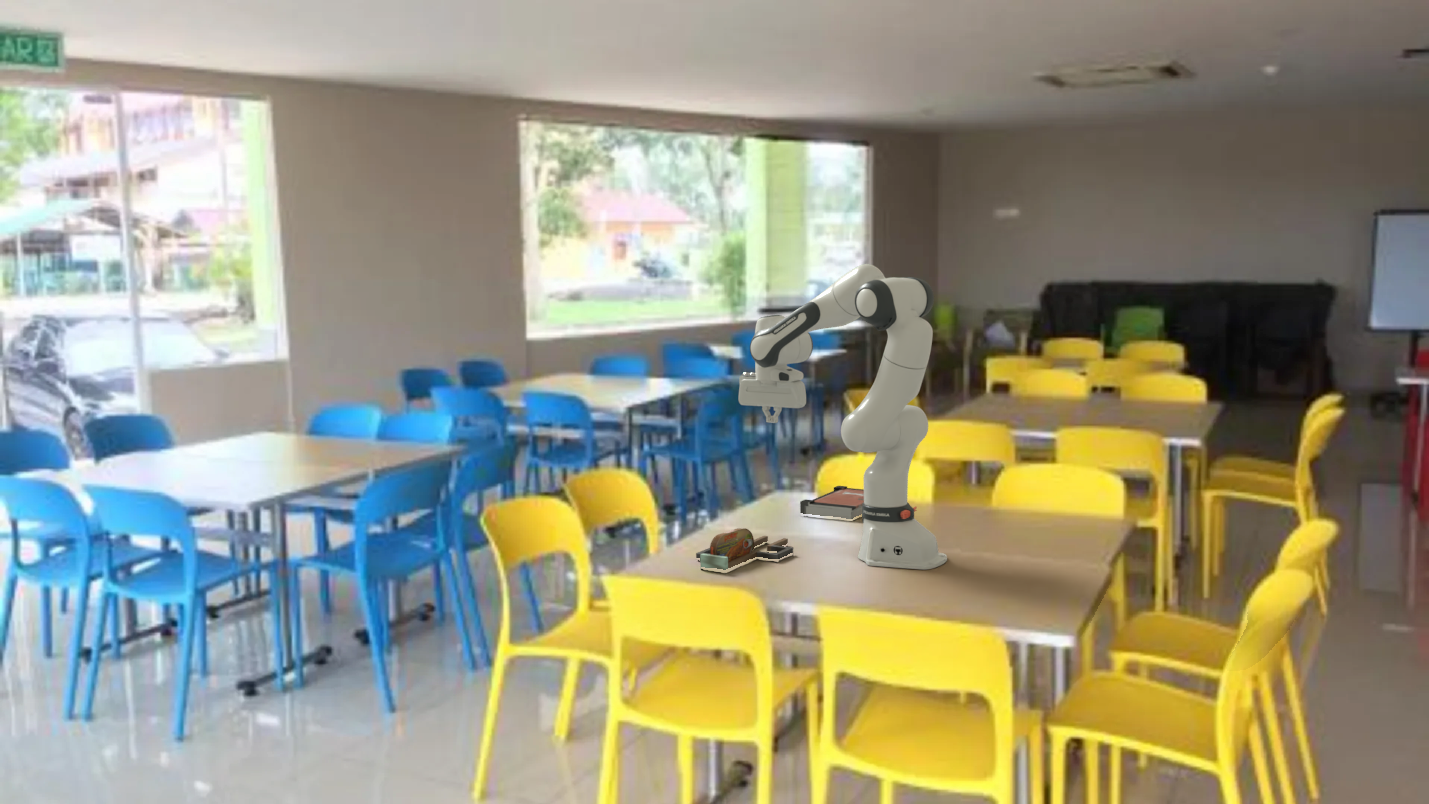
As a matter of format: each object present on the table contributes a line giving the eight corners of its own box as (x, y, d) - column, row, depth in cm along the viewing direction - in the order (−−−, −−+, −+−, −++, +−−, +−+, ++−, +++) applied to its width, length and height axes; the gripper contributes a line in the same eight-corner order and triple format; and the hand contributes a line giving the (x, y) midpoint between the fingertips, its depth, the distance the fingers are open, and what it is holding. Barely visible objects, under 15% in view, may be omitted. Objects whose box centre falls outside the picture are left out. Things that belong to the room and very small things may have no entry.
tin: (717, 570, 297) (716, 537, 296) (708, 568, 299) (707, 535, 298) (755, 557, 308) (754, 526, 307) (746, 555, 310) (745, 524, 309)
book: (854, 523, 345) (853, 506, 344) (800, 518, 354) (800, 501, 353) (889, 506, 367) (889, 490, 366) (838, 501, 376) (838, 485, 375)
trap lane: (807, 548, 316) (807, 533, 315) (746, 576, 290) (746, 560, 289) (745, 540, 326) (744, 526, 326) (680, 567, 300) (680, 551, 300)
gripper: (733, 373, 333) (734, 421, 335) (797, 375, 322) (798, 426, 324) (745, 371, 339) (746, 419, 340) (808, 373, 327) (809, 423, 329)
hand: (772, 422), depth 332 cm, fingers closed
